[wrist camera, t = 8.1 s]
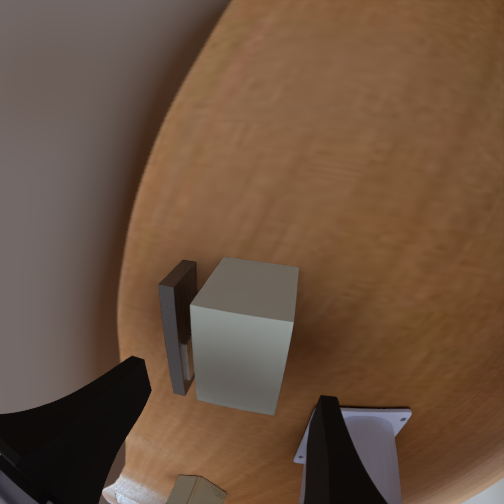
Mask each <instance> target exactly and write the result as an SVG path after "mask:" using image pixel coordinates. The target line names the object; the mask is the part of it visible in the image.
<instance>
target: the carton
mask: <svg viewBox="0 0 504 504" xmlns="http://www.w3.org/2000/svg"><path fill="white" fill-rule="evenodd" d="M298 274H299V267H294V266H287V265H280V264H272V263H265V262H258V261H251V260H244V259H237V258H230V257H223V259H222V260H221V261H220V263H219V264H218V266H217V267H216V268H215V270H214V271H213V273H212V274H211V276H210V277H209V278H208V280H207V281H206V283H205V284H204V285H203V287H202V288H201V290H200V291H199V293H198V294H197V295H196V297H195V298H194V300H193V301H192V303H191V304H190V315H191V333H192V348H193V361H194V373H195V384H196V395H197V400H200V401H204V402H208V403H212V404H216V405H221V406H225V407H230V408H235V409H240V410H245V411H250V412H256V413H262V414H268V415H275V411H276V406H277V402H278V397H279V393H280V388H281V384H282V379H283V375H284V370H285V365H286V360H287V355H288V350H289V345H290V340H291V335H292V330H293V324H294V316H295V306H296V296H297V286H298Z"/></svg>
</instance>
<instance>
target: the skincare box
mask: <svg viewBox="0 0 504 504" xmlns="http://www.w3.org/2000/svg"><path fill="white" fill-rule="evenodd" d="M225 497H226V493H225V492H224V491H222V490H221V489H219V488H218V487H216V486H215V485H213V484H212V483H210V482H209V481H208V480H206V479H205V478H203V477H201V476H186V475H179V476H178V479H177V481H176V483H175V485H174V487H173V489H172V492H171V494H170V496H169V498H168V500H167V502H166V504H223V503H224V500H225Z"/></svg>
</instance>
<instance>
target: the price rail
mask: <svg viewBox="0 0 504 504" xmlns="http://www.w3.org/2000/svg"><path fill="white" fill-rule="evenodd" d="M158 285H159V295H160V305H161V313H162V322H163V330H164V337H165V344H166V351H167V357H168V364H169V370H170V376H171V381H172V387H173V392H174V393H176V394H179V395H183V396H186V394H187V392H188V390H189V387H190V385H191V383H192V381H193V379H194V377H195V373H194V361H193V348H192V333H191V315H190V304H191V303H192V301H193V300H194V298H195V297H196V295H197V290H196V262H192V261H186V260H182V261H181V262H180V263H179V264H178V265H177V266H176V267H175V268H174V269H173V270H172V271H171V272H170V273H169V274H168V275H167V276H166V277H165V278H164V279H163V280H162V281H161V282H160V283H159V284H158Z"/></svg>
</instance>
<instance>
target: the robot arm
mask: <svg viewBox="0 0 504 504" xmlns="http://www.w3.org/2000/svg"><path fill="white" fill-rule="evenodd" d="M151 391H152V390H151V386H150V382H149V378H148V374H147V370H146V365H145V361H144V359H141V358H138V357H135V356H131V357H129V358H128V359H126V360H125V361H123V362H122V363H120V364H119V365H117V366H116V367H114V368H113V369H111V370H110V371H108V372H107V373H105V374H104V375H102V376H101V377H99V378H98V379H96V380H94V381H93V382H91V383H90V384H88V385H86V386H84V387H83V388H81V389H79V390H77V391H76V392H74V393H72V394H70V395H68V396H65V397H63V398H61V399H59V400H57V401H54V402H51V403H49V404H45V405H43V406H40V407H36V408H33V409H29V410H25V411H20V412H15V413H8V414H0V454H1V455H0V504H98V503H99V500H100V496H101V493H102V490H103V487H104V484H105V481H106V479H107V476H108V473H109V471H110V468H111V466H112V464H113V461H114V459H115V457H116V455H117V452H118V451H119V449H120V447H121V445H122V443H123V442H124V440H125V439H126V437H127V435H128V434H129V432H130V431H131V429H132V427H133V426H134V424H135V422H136V421H137V419H138V418H139V416H140V414H141V413H142V411H143V409H144V407H145V405H146V403H147V400H148V398H149V396H150V393H151ZM411 415H412V413H411V410H410V409H358V408H340V405H339V401H338V398H337V397H334V396H323V395H320V398H319V401H318V403H317V406H316V408H315V409H314V411H313V413H312V416H311V418H310V421H309V424H308V426H307V429H306V431H305V433H304V436H303V438H302V441H301V443H300V445H299V448H298V450H297V452H296V454H295V457H294V462H296V463H303V464H304V466H303V475H302V483H301V491H300V499H299V504H402V499H401V487H400V476H399V467H398V458H397V451H396V443H395V436H396V435H397V434H398V432H399V431H400V430H401V428H402V427H403V426H404V424H405V423H406V422H407V420H408V419H409V418H410V416H411Z"/></svg>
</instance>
